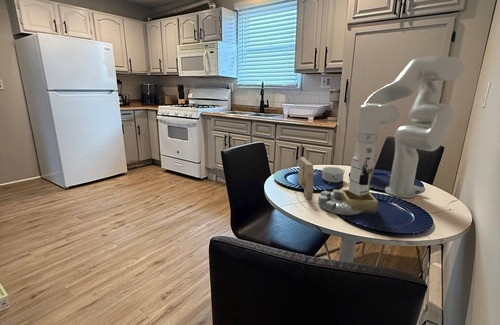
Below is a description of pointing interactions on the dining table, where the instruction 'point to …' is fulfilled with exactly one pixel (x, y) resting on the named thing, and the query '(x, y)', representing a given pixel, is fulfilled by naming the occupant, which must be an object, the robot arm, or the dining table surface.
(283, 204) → the dining table surface
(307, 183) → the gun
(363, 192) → the syrup box
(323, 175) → the saucepan
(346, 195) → the beige and grey tray
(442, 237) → the dining table surface
